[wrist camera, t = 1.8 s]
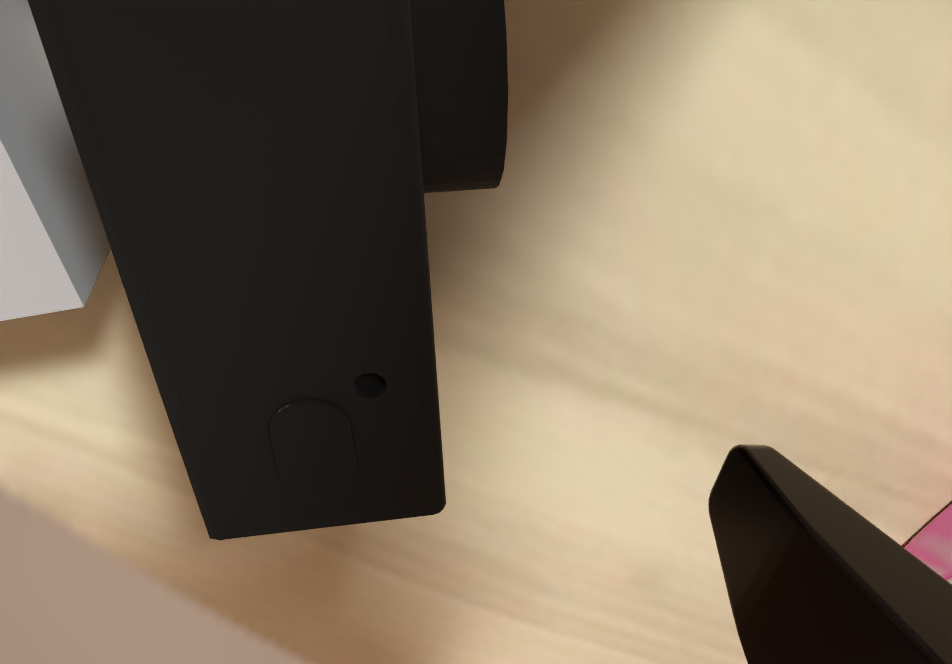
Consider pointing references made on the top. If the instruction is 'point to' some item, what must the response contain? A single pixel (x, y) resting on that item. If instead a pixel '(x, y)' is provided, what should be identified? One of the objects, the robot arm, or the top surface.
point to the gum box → (935, 544)
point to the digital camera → (285, 229)
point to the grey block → (40, 184)
